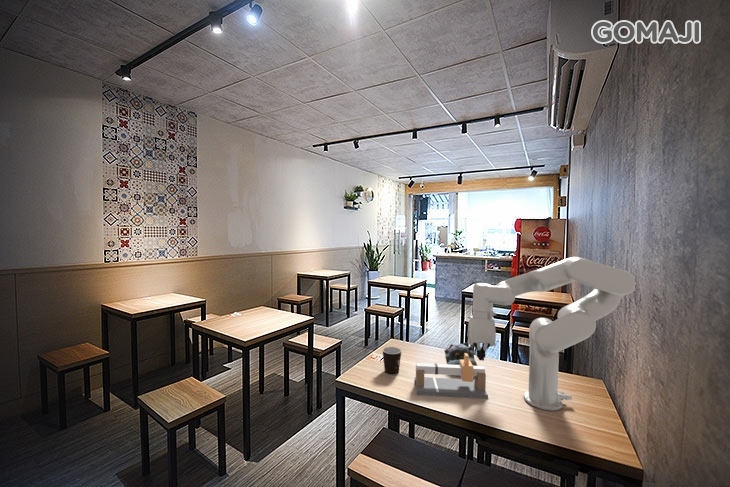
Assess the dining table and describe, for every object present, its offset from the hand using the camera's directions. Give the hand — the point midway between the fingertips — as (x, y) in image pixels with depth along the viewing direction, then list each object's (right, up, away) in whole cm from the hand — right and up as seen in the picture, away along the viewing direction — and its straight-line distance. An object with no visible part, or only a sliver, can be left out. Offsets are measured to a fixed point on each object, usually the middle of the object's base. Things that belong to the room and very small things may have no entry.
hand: (480, 359), depth 125 cm
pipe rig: (-12, -13, +1) cm, 18 cm away
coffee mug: (-33, -12, +18) cm, 40 cm away
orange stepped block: (-6, -8, +1) cm, 10 cm away
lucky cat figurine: (-3, -13, +18) cm, 22 cm away
